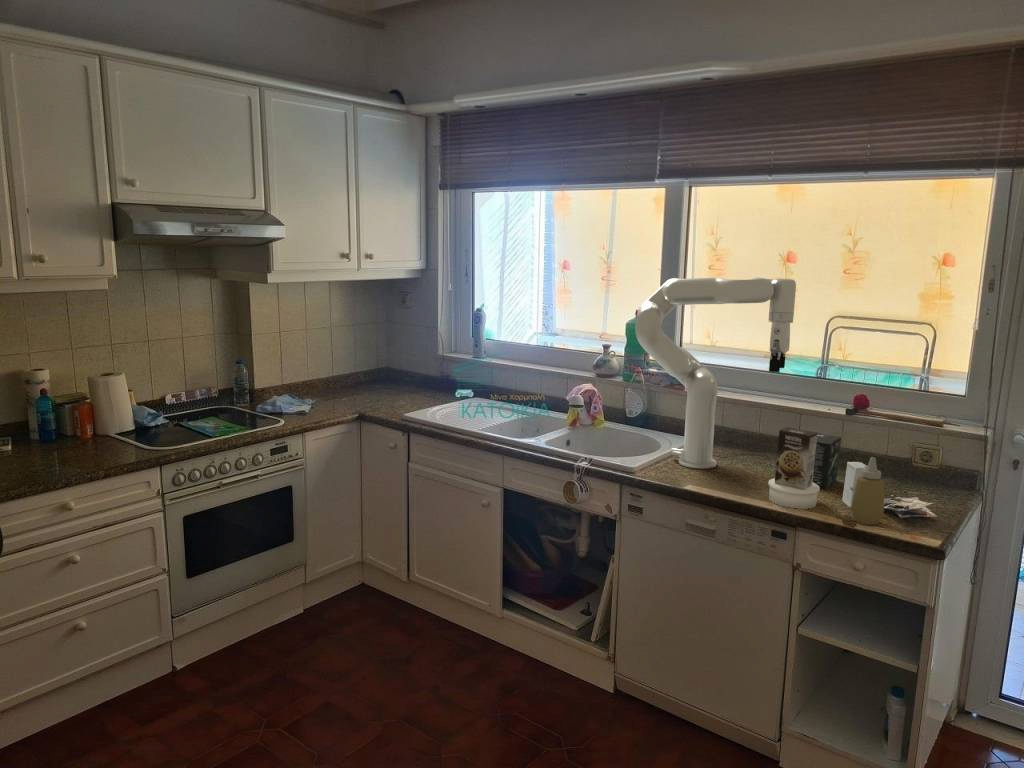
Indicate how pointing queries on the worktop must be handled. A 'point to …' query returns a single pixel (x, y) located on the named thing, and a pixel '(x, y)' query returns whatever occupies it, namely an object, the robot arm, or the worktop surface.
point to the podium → (793, 495)
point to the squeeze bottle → (869, 496)
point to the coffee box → (795, 458)
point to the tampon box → (826, 460)
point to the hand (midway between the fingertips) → (776, 369)
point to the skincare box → (852, 480)
